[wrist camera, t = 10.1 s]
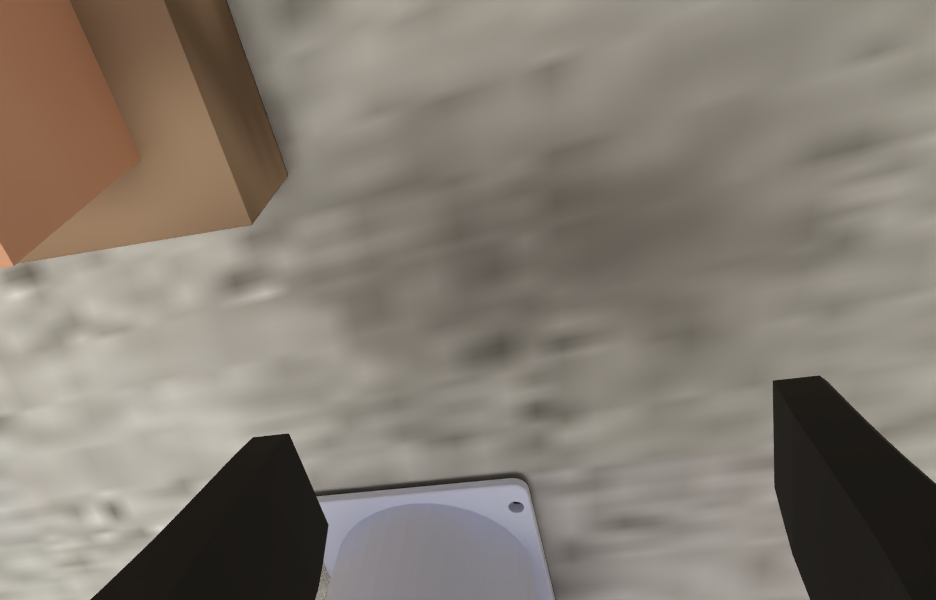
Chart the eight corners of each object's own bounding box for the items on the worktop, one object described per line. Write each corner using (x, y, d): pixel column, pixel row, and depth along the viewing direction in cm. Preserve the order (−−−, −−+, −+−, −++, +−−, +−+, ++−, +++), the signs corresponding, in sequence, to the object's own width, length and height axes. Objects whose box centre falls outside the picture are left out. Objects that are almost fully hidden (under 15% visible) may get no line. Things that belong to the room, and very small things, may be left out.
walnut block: (288, 175, 21) (251, 224, 18) (-1, 226, 23) (-70, 277, 20) (149, -217, 16) (76, -223, 14) (-199, -118, 18) (-320, -107, 16)
